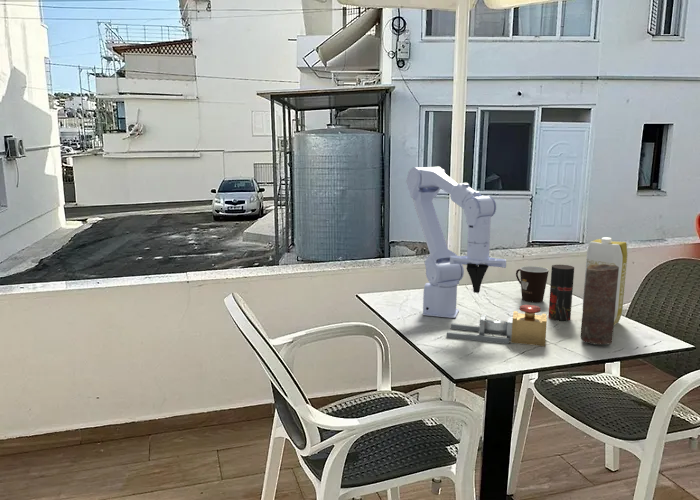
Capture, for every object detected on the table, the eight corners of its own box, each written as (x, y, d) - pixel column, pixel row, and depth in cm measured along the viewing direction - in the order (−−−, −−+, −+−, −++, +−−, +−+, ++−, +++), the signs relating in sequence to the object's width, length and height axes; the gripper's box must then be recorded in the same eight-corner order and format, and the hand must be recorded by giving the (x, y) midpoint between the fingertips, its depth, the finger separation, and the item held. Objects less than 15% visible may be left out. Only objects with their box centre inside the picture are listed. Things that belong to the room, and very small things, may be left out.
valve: (511, 342, 141) (513, 309, 140) (512, 334, 147) (514, 302, 146) (545, 346, 139) (547, 312, 137) (544, 338, 145) (547, 305, 143)
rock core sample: (609, 351, 136) (616, 269, 132) (577, 345, 140) (583, 266, 136) (614, 341, 142) (621, 263, 138) (582, 336, 146) (589, 260, 142)
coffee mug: (550, 303, 175) (552, 272, 174) (522, 303, 176) (524, 272, 174) (538, 293, 187) (540, 264, 185) (512, 293, 187) (514, 264, 185)
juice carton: (578, 321, 158) (585, 236, 153) (589, 315, 164) (596, 233, 159) (613, 329, 152) (621, 241, 147) (623, 322, 157) (631, 237, 153)
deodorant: (572, 322, 158) (576, 269, 155) (549, 320, 159) (553, 268, 156) (568, 315, 163) (572, 265, 160) (546, 314, 164) (550, 264, 162)
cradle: (446, 337, 145) (446, 332, 145) (451, 327, 153) (451, 323, 153) (508, 343, 141) (509, 339, 140) (510, 333, 148) (510, 329, 148)
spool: (478, 338, 145) (479, 319, 144) (480, 332, 149) (481, 314, 148) (511, 341, 142) (512, 322, 141) (512, 335, 147) (513, 317, 146)
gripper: (448, 242, 148) (446, 293, 150) (505, 245, 143) (503, 298, 145) (453, 238, 154) (451, 286, 157) (508, 241, 149) (505, 291, 152)
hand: (476, 291), depth 151 cm, fingers closed
